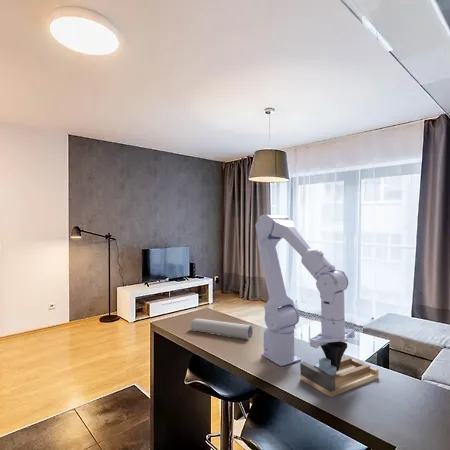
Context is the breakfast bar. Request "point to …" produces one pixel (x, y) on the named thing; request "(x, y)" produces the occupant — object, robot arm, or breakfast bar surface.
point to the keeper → (326, 366)
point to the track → (338, 376)
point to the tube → (222, 328)
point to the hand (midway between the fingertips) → (333, 369)
